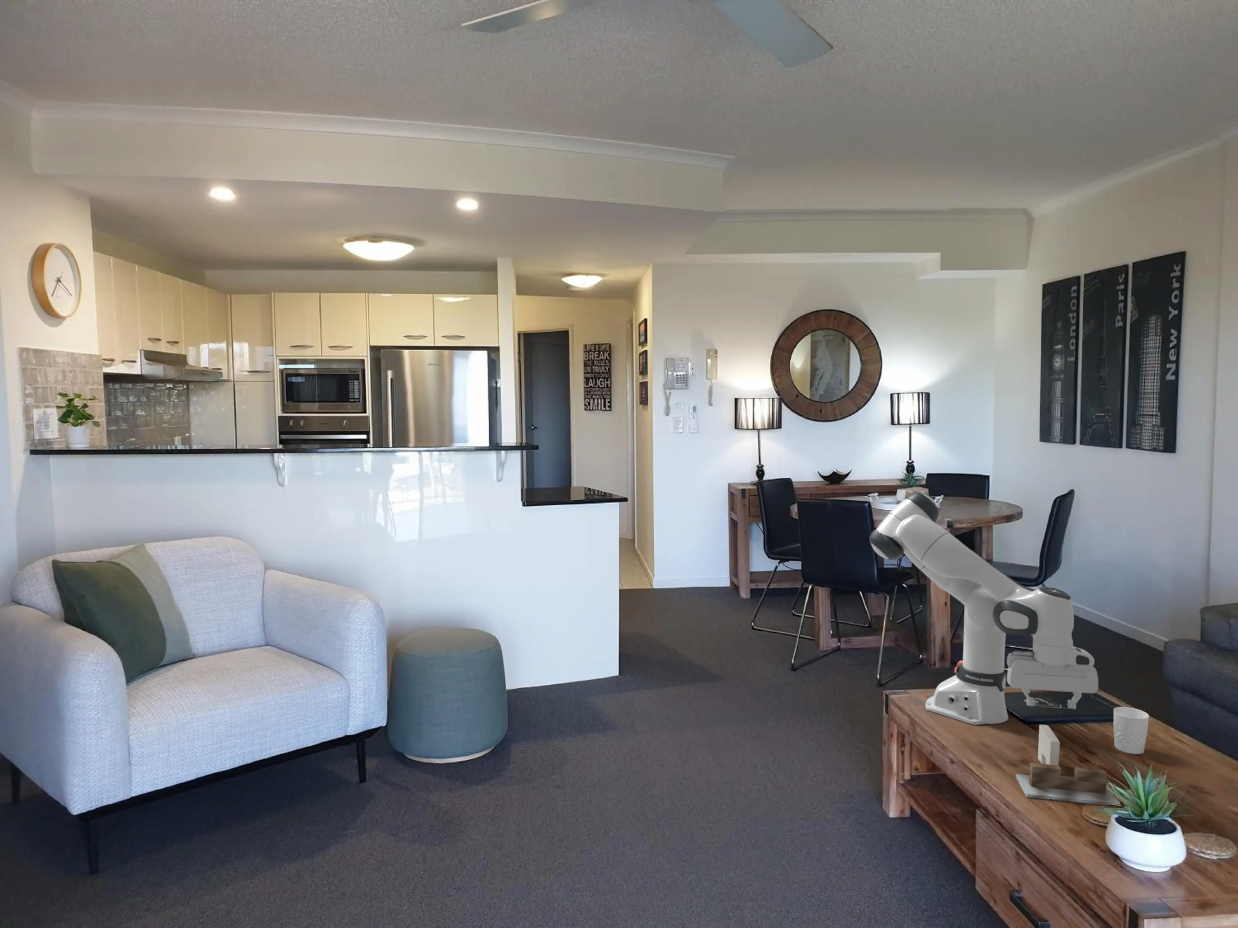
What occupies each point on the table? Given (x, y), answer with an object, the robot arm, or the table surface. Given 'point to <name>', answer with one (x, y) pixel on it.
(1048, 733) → the upright cream slab
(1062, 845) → the table surface
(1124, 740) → the white cup
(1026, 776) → the base plate
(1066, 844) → the table surface
